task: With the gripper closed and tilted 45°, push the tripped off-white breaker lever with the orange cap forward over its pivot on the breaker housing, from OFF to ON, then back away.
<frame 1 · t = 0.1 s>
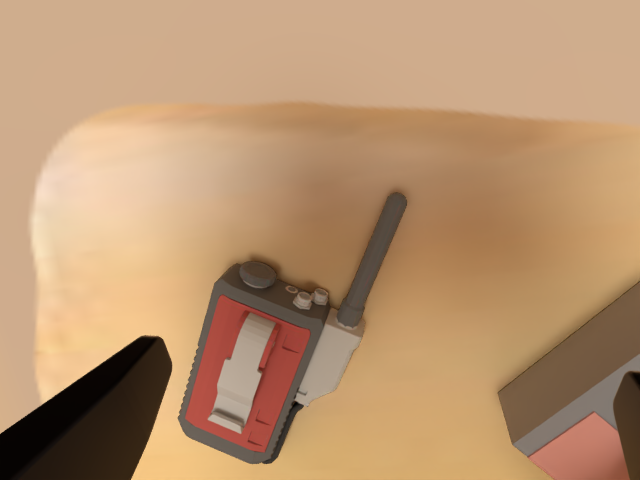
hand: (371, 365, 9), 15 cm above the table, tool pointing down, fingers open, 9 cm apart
walkie-talkie: (288, 316, 28), on the table
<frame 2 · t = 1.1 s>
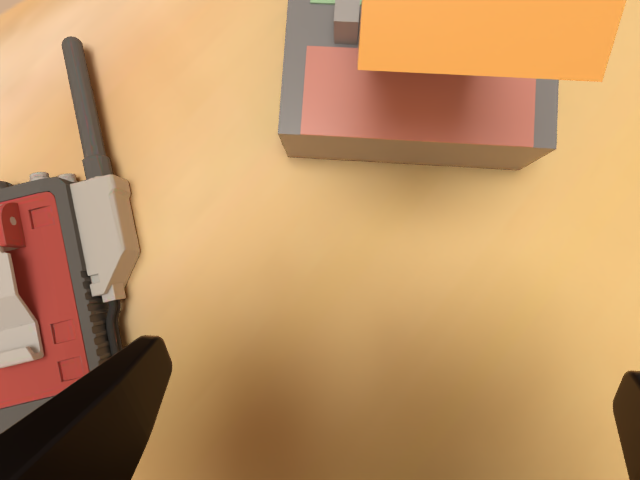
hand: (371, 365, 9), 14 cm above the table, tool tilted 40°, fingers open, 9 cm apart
breaker lever: (445, 16, 15), point 9 cm above the table, hinge at -30.0°
breaker housing: (407, 70, 24), on the table
walkie-talkie: (64, 238, 25), on the table
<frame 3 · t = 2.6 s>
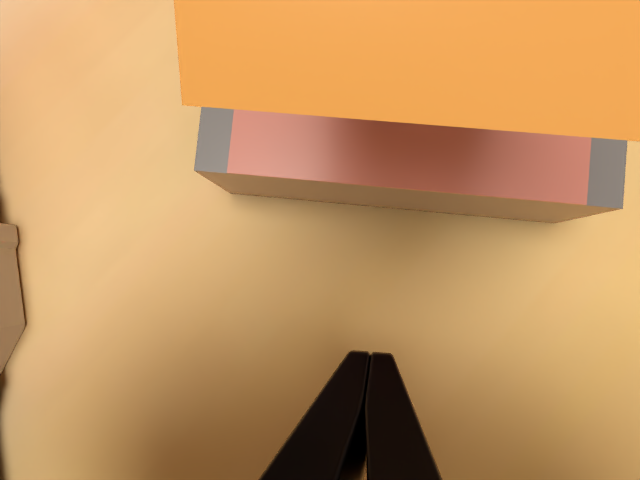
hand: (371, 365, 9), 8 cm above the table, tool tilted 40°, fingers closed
breaker housing: (401, 76, 17), on the table
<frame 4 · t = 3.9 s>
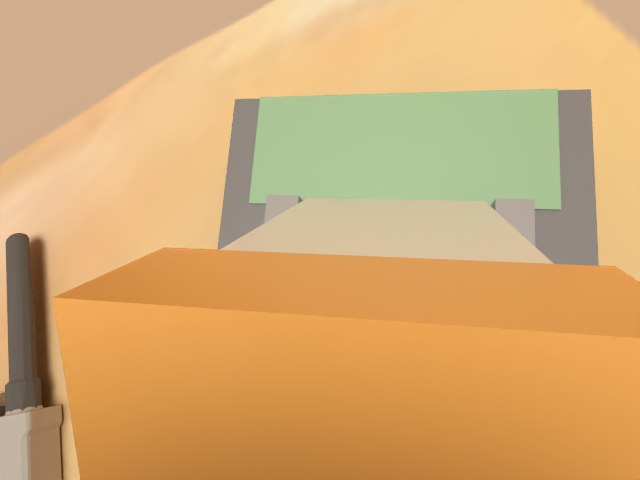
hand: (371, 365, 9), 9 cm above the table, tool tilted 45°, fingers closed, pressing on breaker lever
breaker lever: (382, 275, 9), point 9 cm above the table, hinge at -24.2°, touching gripper
breaker housing: (396, 256, 18), on the table
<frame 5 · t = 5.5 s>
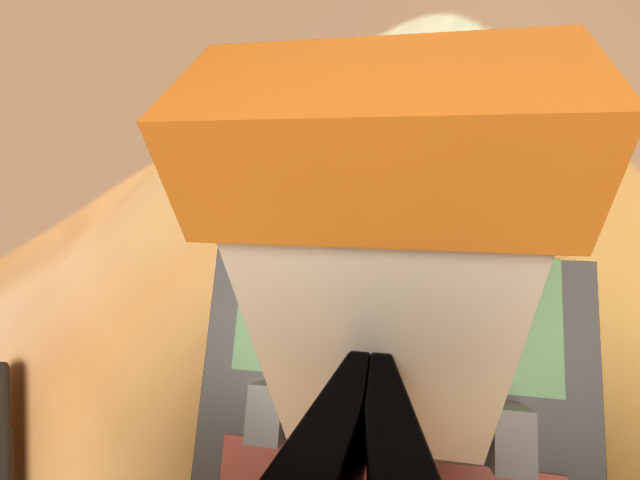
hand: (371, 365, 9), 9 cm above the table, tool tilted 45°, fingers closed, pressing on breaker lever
breaker lever: (381, 322, 9), point 9 cm above the table, hinge at 35.9°, touching gripper
breaker housing: (389, 398, 17), on the table
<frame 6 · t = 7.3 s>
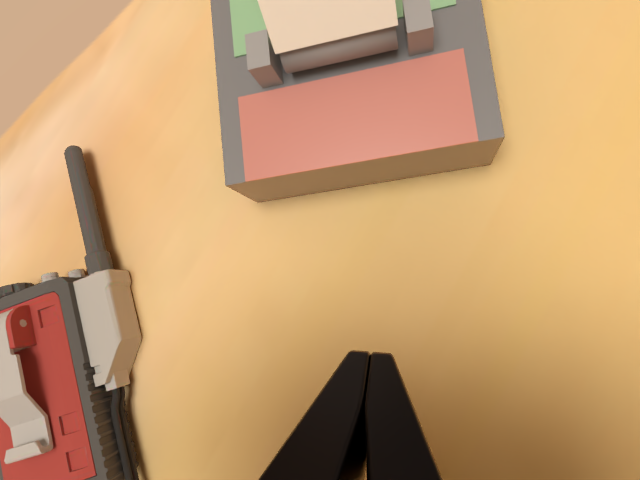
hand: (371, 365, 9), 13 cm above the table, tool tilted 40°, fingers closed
breaker housing: (355, 92, 24), on the table
walkie-talkie: (80, 327, 27), on the table
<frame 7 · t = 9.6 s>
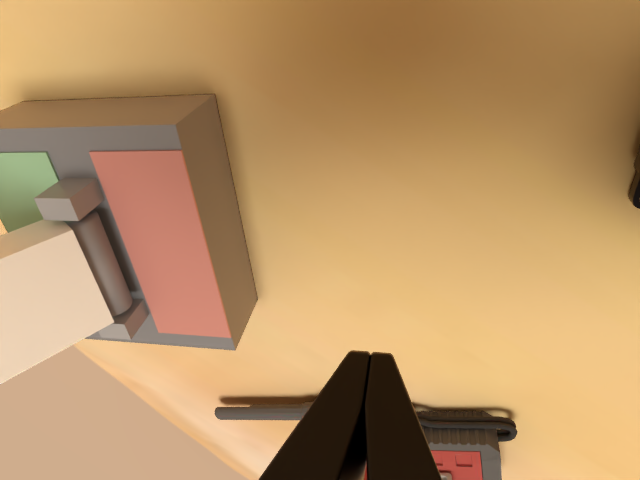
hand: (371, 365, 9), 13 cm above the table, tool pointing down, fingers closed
breaker housing: (151, 209, 24), on the table
walkie-talkie: (363, 422, 32), on the table
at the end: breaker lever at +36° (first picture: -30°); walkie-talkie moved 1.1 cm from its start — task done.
